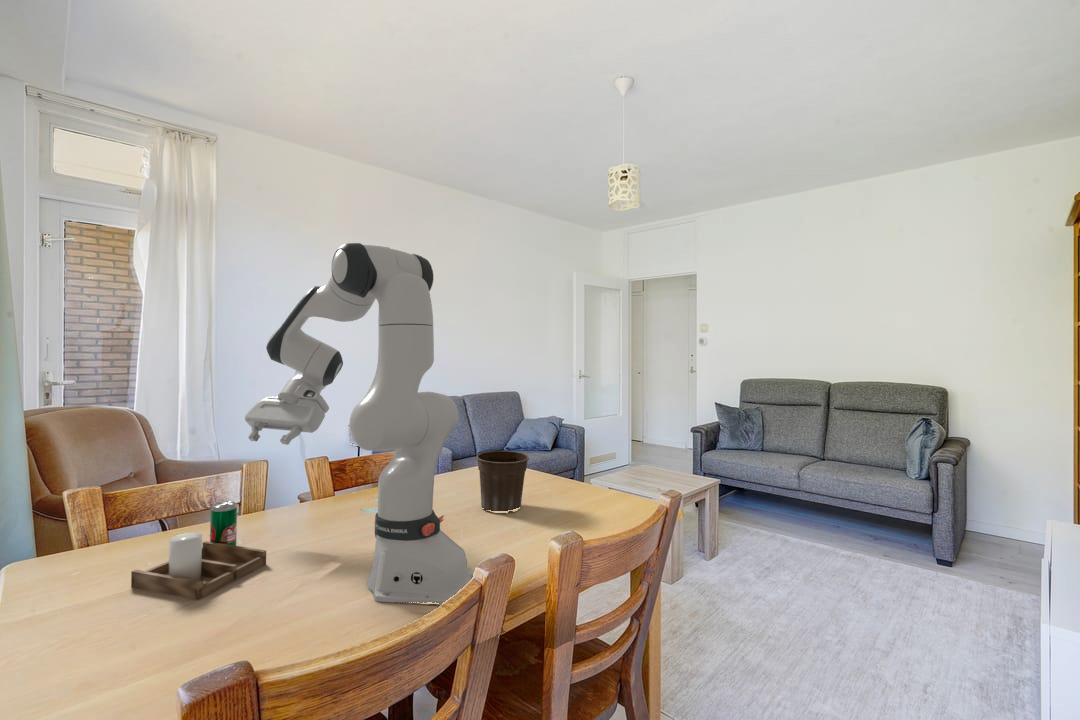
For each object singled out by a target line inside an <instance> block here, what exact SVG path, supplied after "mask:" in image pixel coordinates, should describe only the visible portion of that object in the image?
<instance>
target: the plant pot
mask: <svg viewBox="0 0 1080 720" xmlns="http://www.w3.org/2000/svg"><path fill="white" fill-rule="evenodd" d="M476 460H477V467H478V470H479V485H480V499H481V500H480V502H481V503H480V504H481V505H480V506H481V509H482V508H484V509H483V510H485V509H486V510H491V511H508V510H513V509H516V508H519V507H520V506H522V501H523V499H522V498H523V491H524V482H525V473H526V471H527V467H528V466H527V465H528V461H529V460H530V456H529V455H528V454H526V453H523V452H519V451H513V450H509V451H508V450H490V451H483V452H480V453H478V454H477V455H476ZM486 510H485V511H486Z"/></svg>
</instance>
